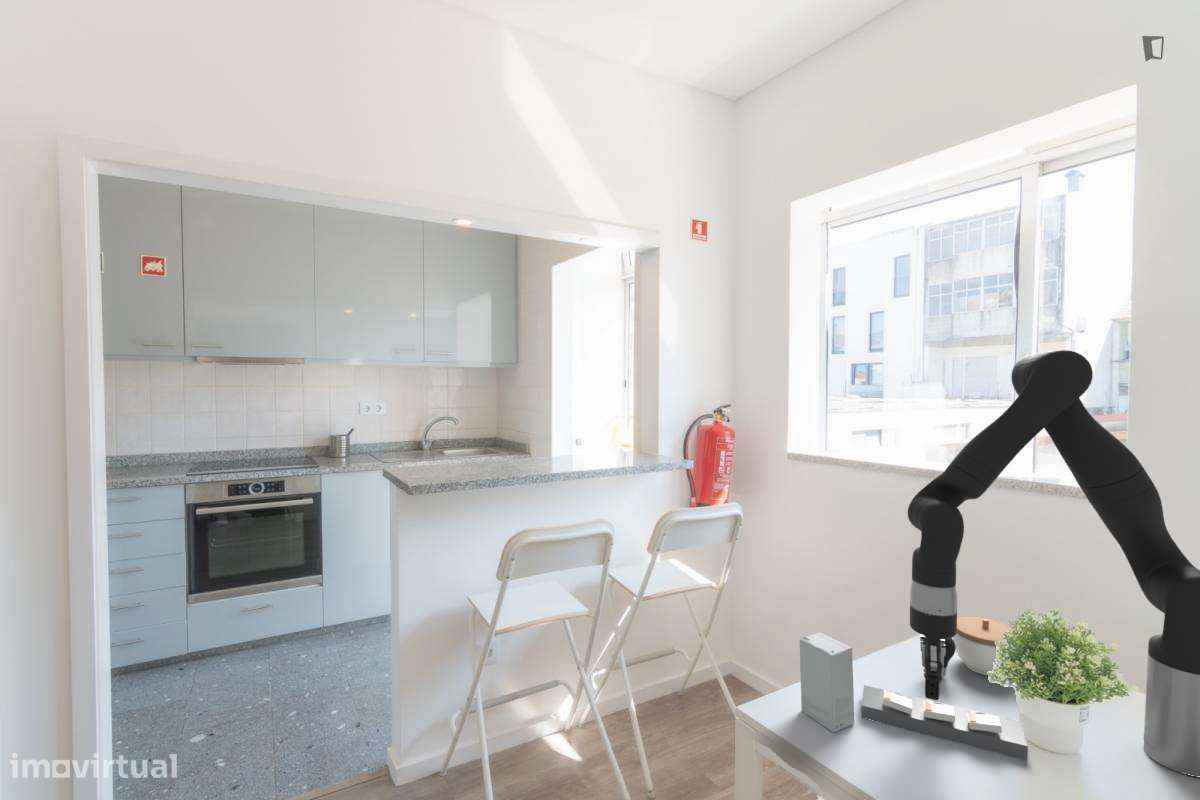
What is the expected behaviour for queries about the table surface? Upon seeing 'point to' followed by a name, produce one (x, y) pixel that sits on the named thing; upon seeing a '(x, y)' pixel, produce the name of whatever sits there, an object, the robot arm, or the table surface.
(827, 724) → the skincare box
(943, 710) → the rocker middle
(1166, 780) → the table surface
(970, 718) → the rocker
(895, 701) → the rocker
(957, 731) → the power strip
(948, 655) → the light bulb
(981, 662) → the lidded bowl
